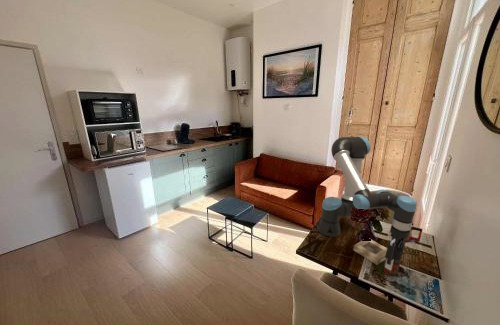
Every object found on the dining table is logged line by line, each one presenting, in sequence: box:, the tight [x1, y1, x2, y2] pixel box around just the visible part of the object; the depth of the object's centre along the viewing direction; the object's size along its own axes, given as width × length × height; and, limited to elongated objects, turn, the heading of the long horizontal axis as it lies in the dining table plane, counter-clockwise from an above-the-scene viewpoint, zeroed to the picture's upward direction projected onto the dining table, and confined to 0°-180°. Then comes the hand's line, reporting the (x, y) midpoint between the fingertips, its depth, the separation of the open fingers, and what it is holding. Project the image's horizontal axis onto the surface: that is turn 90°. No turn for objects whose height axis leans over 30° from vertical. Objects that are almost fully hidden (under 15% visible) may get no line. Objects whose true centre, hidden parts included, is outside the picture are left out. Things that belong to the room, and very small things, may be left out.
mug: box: [390, 222, 423, 243], centre depth 132 cm, size 10×14×12 cm
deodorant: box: [383, 247, 404, 277], centre depth 105 cm, size 6×6×15 cm
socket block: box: [352, 239, 388, 266], centre depth 120 cm, size 14×14×4 cm
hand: (391, 265), depth 106 cm, fingers open, 6 cm apart
